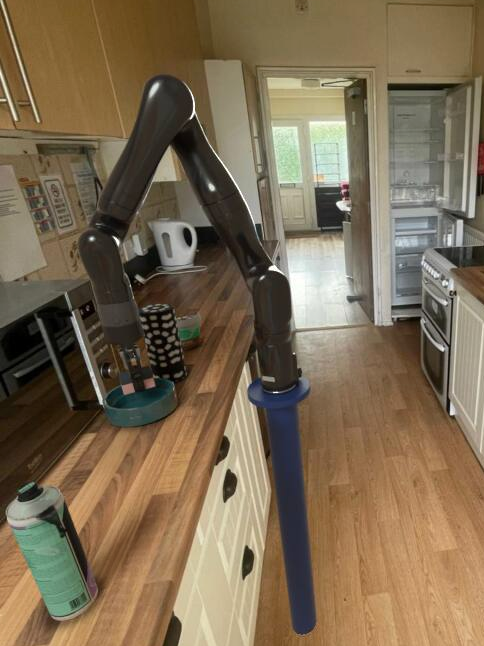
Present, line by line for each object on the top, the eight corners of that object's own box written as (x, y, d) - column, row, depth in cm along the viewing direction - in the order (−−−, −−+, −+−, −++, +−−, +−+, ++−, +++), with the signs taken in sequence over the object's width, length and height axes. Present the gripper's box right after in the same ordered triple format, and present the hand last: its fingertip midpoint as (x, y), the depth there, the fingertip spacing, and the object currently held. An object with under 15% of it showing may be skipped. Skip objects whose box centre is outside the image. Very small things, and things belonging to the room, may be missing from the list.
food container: (171, 355, 130) (164, 325, 126) (164, 349, 134) (158, 319, 131) (211, 344, 138) (206, 315, 134) (203, 339, 142) (198, 310, 138)
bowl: (170, 389, 111) (166, 372, 109) (184, 414, 100) (180, 396, 98) (104, 407, 103) (99, 389, 101) (112, 437, 92) (106, 417, 90)
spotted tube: (188, 368, 123) (176, 301, 115) (184, 381, 115) (170, 311, 107) (157, 371, 121) (142, 304, 113) (150, 385, 113) (133, 314, 105)
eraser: (152, 380, 103) (148, 365, 102) (155, 386, 101) (151, 371, 99) (122, 388, 100) (117, 373, 98) (124, 395, 97) (119, 379, 96)
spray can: (107, 583, 61) (66, 470, 53) (80, 621, 56) (31, 503, 48) (69, 581, 61) (23, 469, 53) (39, 620, 56) (-16, 502, 48)
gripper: (145, 324, 90) (162, 394, 97) (134, 307, 101) (150, 371, 108) (104, 332, 86) (125, 405, 93) (97, 313, 97) (116, 380, 104)
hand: (138, 387), depth 100 cm, fingers closed on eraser, 3 cm apart
